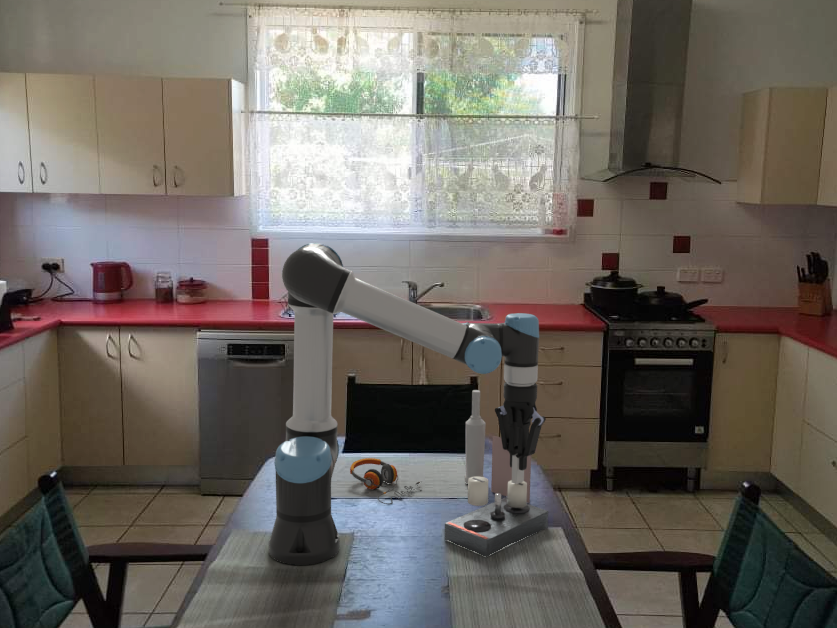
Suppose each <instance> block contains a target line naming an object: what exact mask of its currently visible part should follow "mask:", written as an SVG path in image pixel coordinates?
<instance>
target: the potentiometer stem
mask: <svg viewBox="0 0 837 628" xmlns="http://www.w3.org/2000/svg"><path fill="white" fill-rule="evenodd" d="M501 499H502V495H501V494H500V493H494V502H495V511H493V512H491V513H490V517H491V518H492V519H494V520H502V519H504V518H505V513H504V512H501Z"/></svg>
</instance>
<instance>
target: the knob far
mask: <svg viewBox="0 0 837 628" xmlns="http://www.w3.org/2000/svg"><path fill="white" fill-rule="evenodd" d="M506 497H507V504H508V505H509V506H511V507H515V508H521V507H525V506H526V503H527V502H526V501H527V483H526V482H525V481H523V482H521V483H519V484H514V483H512V480H511V481H509V482H508V494H507V496H506Z"/></svg>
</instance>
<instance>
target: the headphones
mask: <svg viewBox="0 0 837 628" xmlns="http://www.w3.org/2000/svg"><path fill="white" fill-rule="evenodd" d="M363 465H376V466H381V469H380V471H379V470H377V469H375V468H370V469H368V470H367V471H365V473H364V475H363V476H361V475H360V474H358V473H356V472H355V469H356V468H357V467H359V466H363ZM349 473H350V474H351V475H352V476H353V478H354V479H357V480H358V481H360V482H362V483H363V484H364V486H365V488H367V489H368V490H377V489H376V488H378V489H379V488H387V489H388V490H387V491H383V492H382V493H380V494H379V495H378V496H377V501H378V502H379V503H381V504H384V505H393V499H392V498H395V499H397V498H398V499H397V500H399V499H401V498H402V497H401V496H402V495H403V494H404V495H405V493H406V492H408V490H410V489H411V490H412V489H413V488H414V487H413V486H411V485H410V486H409V487H408V486H407V485H405V486H403V487H404V489H405V490H407V491H406V492H405V491H404V490H400V492H399V491H396V490H395V491H394V493H393V494H394V495H392V496H391V497H390V500H391V502H388V503H387V502H383V501H381V500H380V499H379V497H380V496H382V495H386V494H387V493H390V492H391V491H393V490H394V489H396V487H397V485H398V480H399V475H398V470H397V468H396V467H395V466H394V465H393V464H390V463H387V462H385V461H382V459H378V458H375V457H374V458H373V457H367V458H365V457H364V458H361V459H357V460H355V461H354V462H353V463H352V464H351V465H350V467H349ZM383 481H385V482H387V483H391V484H392V483H395V486H394V487H393V488H392V489H391V488H390V486H389V485H388V486H387V485H383V483H384V482H383ZM420 482H421V483H422V482H423V481H418V482H416V483H415V485H419V483H420ZM421 483H420V484H421ZM403 492H404V493H403ZM398 494H399V495H400V496H399V495H398ZM399 497H400V498H399Z"/></svg>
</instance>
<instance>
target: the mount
mask: <svg viewBox="0 0 837 628" xmlns="http://www.w3.org/2000/svg"><path fill="white" fill-rule="evenodd" d="M493 511H495V501H494V502H491V503H488V504H486V505H483V506H481V507H479V508H476V509H475V510H472V511H470V512H468V513H465V514H463V515H460V516H459V517H458V516H457V517H456V518H454V519H452V520H449V521H447V522H445V523H444V541H445V540H449V541H451V542H453V543H455V544H457V545H460V546H462V547H465V548H467V549H469V550H472V551H475V552H477V553H479V554H481V555H483V556H486V557H487V556H489V555H490V554H492V553H494V552H496V551H498V550H500V549H502V548H503V547H505V546H507V545H509V544H511V543H514V542H517V541H519V540H521V539H523V538H525V537H527V536H529V537H531V536H533V535H535V534H537V533H539V532H541V531H544V530H545V529H548V525H549V524H548V521H549V520H548V519H549V510H546V509H544V508H540V507H538V506H534V505H531V504H530V503H528V502H526V506H525V507H521V508H515V507H511V506H509V505H508V504H507V496H504V497H503V498H501V512H504V513H505V518H504V519H502V520H494V519H492V518H491V517H490V513H491V512H493ZM536 532H537V533H536ZM534 533H535V534H534ZM532 534H533V535H532ZM530 535H531V536H530ZM527 538H528V537H527ZM525 539H526V538H525ZM523 540H524V539H523ZM521 541H522V540H521ZM519 542H520V541H519ZM517 543H518V542H517ZM457 545H456V546H457ZM489 557H490V556H489ZM487 558H488V557H487Z"/></svg>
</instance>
